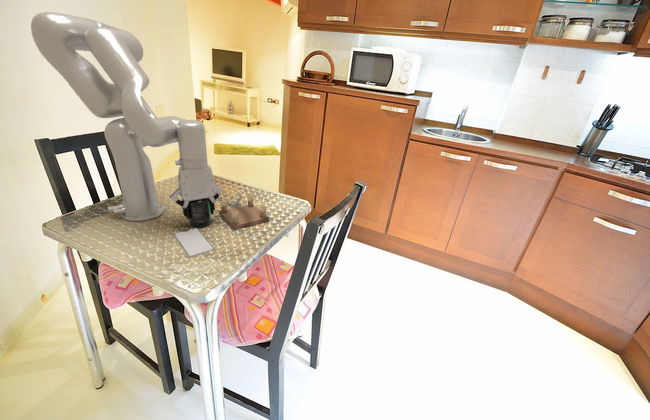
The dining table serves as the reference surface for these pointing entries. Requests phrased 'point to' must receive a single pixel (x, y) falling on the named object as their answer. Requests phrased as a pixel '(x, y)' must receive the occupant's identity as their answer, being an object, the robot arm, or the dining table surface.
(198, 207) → the supplement bottle
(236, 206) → the pliers
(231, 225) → the board
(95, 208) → the dining table surface
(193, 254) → the smartphone
